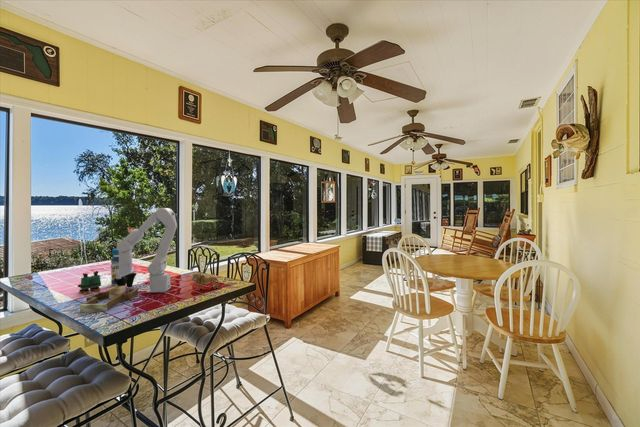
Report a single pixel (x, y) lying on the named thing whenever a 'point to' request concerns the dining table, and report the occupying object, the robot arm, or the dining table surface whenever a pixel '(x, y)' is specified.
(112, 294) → the beech block
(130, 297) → the trap lane
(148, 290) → the robot arm
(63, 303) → the dining table surface
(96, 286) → the green toy train
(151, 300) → the dining table surface
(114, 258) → the beverage bottle
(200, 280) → the lion figurine
